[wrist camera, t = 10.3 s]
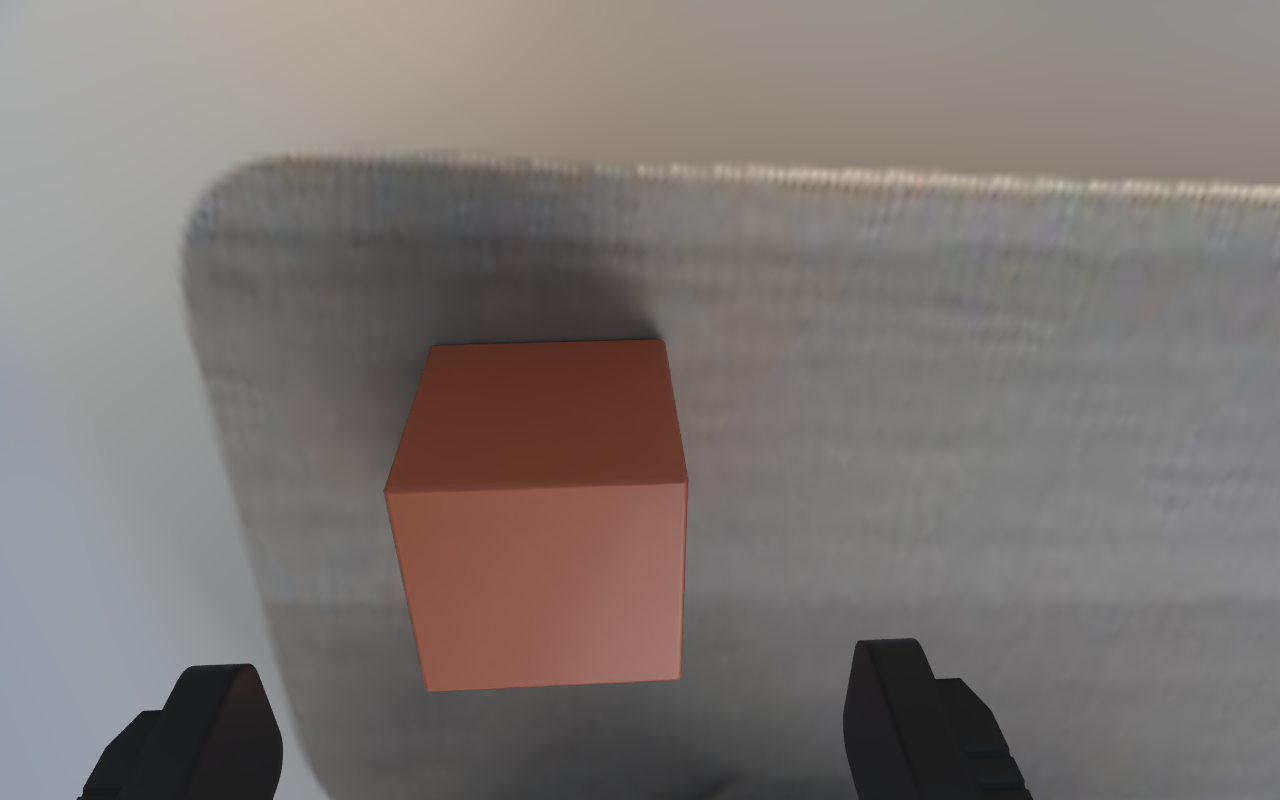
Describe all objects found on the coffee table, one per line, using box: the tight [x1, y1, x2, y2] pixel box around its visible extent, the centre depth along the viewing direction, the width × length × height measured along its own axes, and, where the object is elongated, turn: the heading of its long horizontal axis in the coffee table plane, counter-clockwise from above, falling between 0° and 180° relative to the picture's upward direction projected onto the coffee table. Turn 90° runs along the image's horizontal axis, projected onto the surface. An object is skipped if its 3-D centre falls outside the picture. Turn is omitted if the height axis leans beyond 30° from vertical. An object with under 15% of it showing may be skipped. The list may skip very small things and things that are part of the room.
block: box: [384, 339, 688, 692], centre depth 15 cm, size 4×4×4 cm
